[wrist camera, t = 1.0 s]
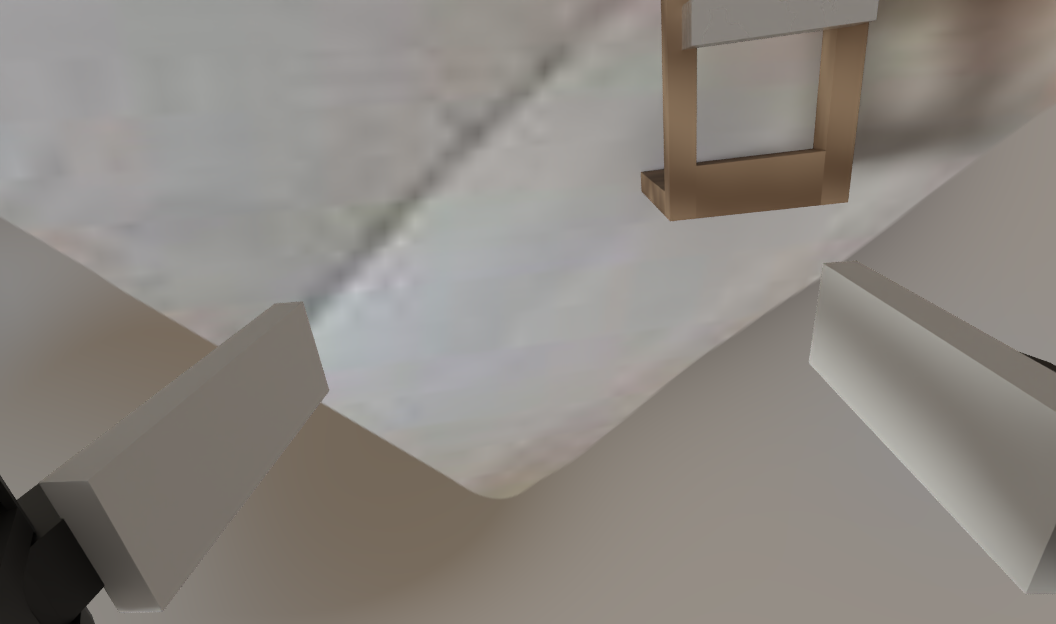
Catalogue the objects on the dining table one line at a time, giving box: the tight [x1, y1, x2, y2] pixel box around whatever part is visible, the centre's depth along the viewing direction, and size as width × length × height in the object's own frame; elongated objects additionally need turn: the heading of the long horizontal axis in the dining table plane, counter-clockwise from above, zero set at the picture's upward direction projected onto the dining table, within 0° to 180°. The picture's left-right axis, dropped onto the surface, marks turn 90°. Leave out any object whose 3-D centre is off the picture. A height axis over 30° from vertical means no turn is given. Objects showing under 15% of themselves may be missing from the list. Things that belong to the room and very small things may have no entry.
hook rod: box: [682, 0, 879, 50], centre depth 25 cm, size 2×8×2 cm, turn 97°
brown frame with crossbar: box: [641, 0, 869, 221], centre depth 31 cm, size 20×10×11 cm, turn 7°
